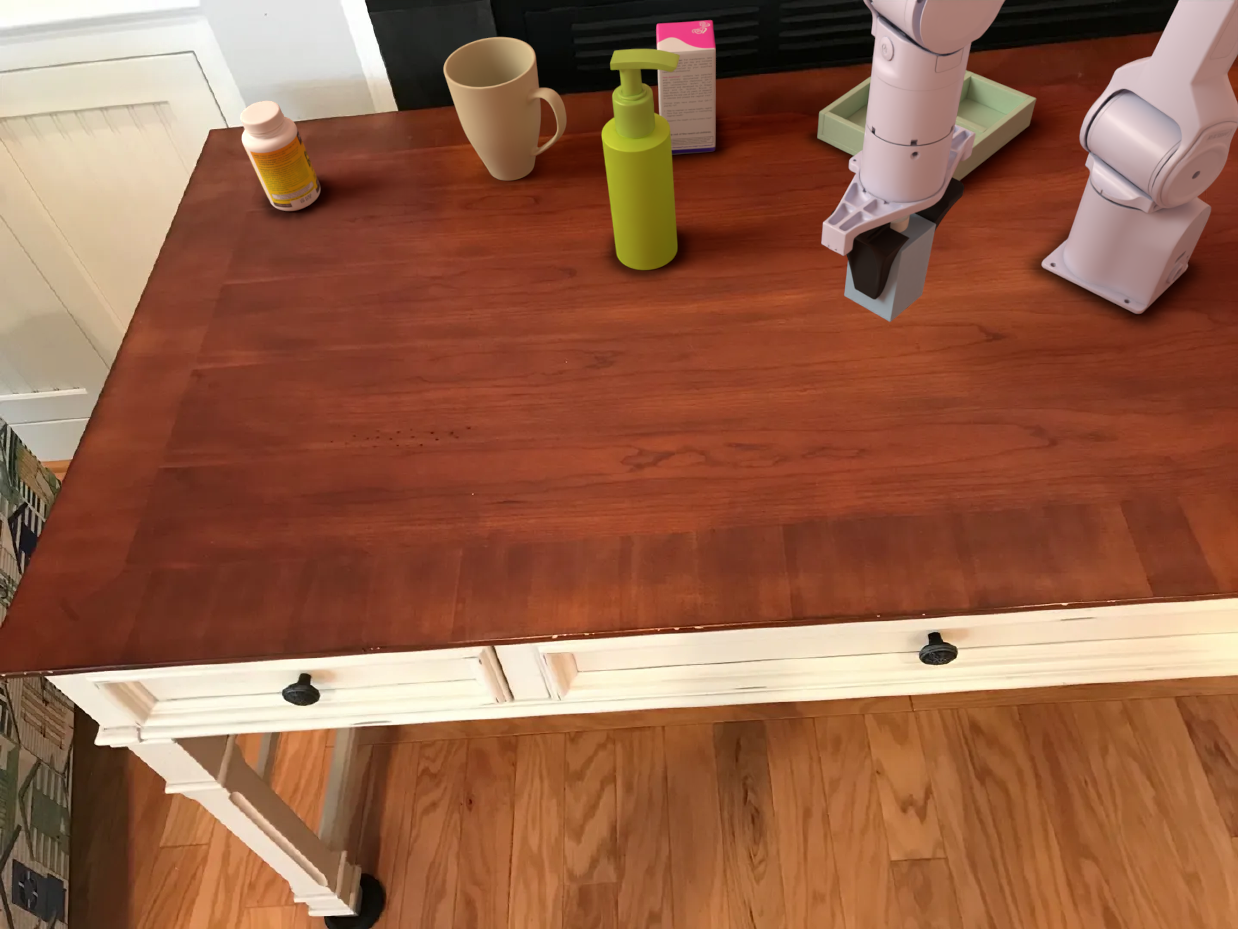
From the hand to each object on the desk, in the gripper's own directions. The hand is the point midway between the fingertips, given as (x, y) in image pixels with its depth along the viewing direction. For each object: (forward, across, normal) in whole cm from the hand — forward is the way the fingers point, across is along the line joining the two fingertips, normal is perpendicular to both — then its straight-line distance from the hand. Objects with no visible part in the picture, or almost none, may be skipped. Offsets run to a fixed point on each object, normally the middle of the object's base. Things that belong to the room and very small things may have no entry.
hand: (886, 275), depth 76 cm
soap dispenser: (+10, +2, -24) cm, 26 cm away
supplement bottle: (+9, +21, -59) cm, 64 cm away
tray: (+9, -28, -16) cm, 34 cm away
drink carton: (+2, 0, 0) cm, 2 cm away
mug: (+10, +2, -44) cm, 45 cm away
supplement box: (+10, -12, -34) cm, 38 cm away
